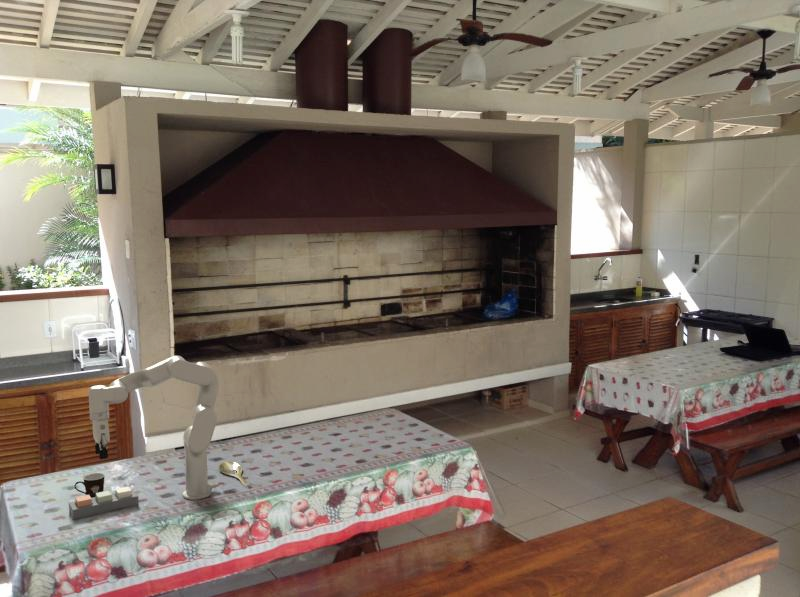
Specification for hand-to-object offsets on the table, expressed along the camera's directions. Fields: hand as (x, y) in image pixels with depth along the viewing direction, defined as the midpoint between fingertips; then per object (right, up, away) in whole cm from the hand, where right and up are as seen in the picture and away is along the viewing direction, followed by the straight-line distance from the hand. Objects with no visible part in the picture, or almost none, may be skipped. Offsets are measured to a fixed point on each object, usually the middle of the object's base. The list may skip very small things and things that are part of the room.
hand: (101, 455), depth 301 cm
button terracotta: (-7, -21, -2) cm, 22 cm away
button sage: (0, -21, +3) cm, 21 cm away
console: (0, -23, +3) cm, 24 cm away
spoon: (+48, -19, +41) cm, 66 cm away
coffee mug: (-10, -22, +15) cm, 29 cm away
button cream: (+7, -20, +7) cm, 22 cm away
